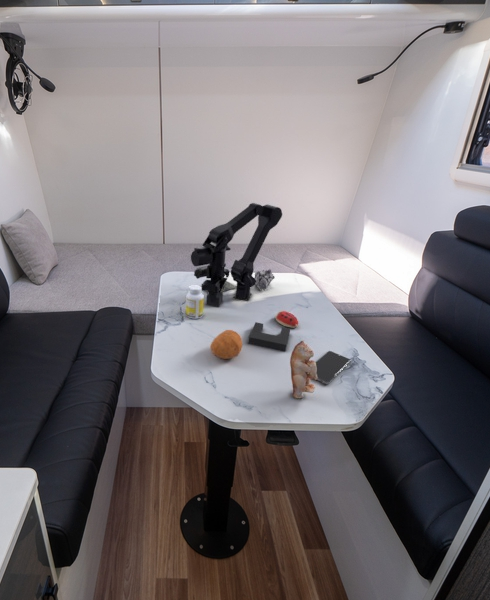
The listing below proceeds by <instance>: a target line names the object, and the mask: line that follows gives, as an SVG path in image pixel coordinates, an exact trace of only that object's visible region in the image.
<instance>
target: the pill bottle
mask: <svg viewBox="0 0 490 600" xmlns="http://www.w3.org/2000/svg"><path fill="white" fill-rule="evenodd" d="M201 286H202V285H199V284H191V285H189V286H188V292H187V293H186V295H185V315H186V317H187V318H189V319H194V320H195V319H196V320H197V319H200V318H202V317H203V316H204V302H205V301H204V300H205V295H204V293H203V292H202V291H203V290H202V287H201Z"/></svg>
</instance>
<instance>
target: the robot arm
mask: <svg viewBox="0 0 490 600" xmlns="http://www.w3.org/2000/svg"><path fill="white" fill-rule="evenodd" d="M256 217H257V223H258V224H257V226H256V229H255V231H254V233H253V234H252V237H251V239H250V241H249V243H248V245H247V247H246V249H245V251H244V253H243V255H242V257H241V258H240V259H235V260H234V261H233V264H232V266H231V267H230V270H229V268H226V265H227V263H226V251H231V247H229V246H228V244H229V243H230V242H231V241H232V240H233V239H234V236H235V234H236V233H237V232H239V231H240V230H241V229H243V228H244V227H245V226H246V225H247V224H249V223H250V222H251V221H253V220H254V219H255V218H256ZM282 217H283V212H282V208H281V207H278V206H275V205H271V204H265V205H262V204H259V203H256V202H251V203H249V204H248V206H247V207H246V208H244V209H243V210H242V211H240V212H239V213H238V214H237V215H235V216H234V217H233V218H231V219H230V220H229V221H228V222H226V223H223V224H219V225H217V226H215V227H213V228H212V229H211V230H209V232H208V235H207V237H206V238H205V240H204V242H203V243H202V246H201V247H198V246H197V247H194V248H193V249H194V250H193V251H192V252H191V254H190V261H191V264H192V265H193V267H197V268H196V269H195V270H194V271H193V273H194V274H193V276H194V277H195V278H196V279H197V280H198V279H200V278H201V279H202V278H206V279H205V280H204V281H203V282H202V283H201V285H200V286H201V287H202V291H206V292H207V293H208V294H209V297H210V300H211V302H214V301H215V299H216V296H217V294H218V292H220V293H222V292H221V290H222V288H223V286H224V284H225V282H226V281H227V280H228V278H229V277H230V275H231V277H232V281H234V282H236V286H237V287H236V288H235V293H234V294H233V296H232V297H233V299H236V300H243V301H250V299H251V297H252V295H253V294H252V293H251V288H253V287H255V286H256V285H255V283H256V280H255V279H254V278H255V277H254V276H253V274H254V262H255V261H256V259H257V257H258V255H259V253H260V251H261V248H262V247H263V244H264V243H265V241H266V239H267V236H268V235H269V233H270V231H272V229H274V228H275V227H276V226H277V225H278V224H279V222H280V220H281V219H282Z"/></svg>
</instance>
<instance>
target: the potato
mask: <svg viewBox="0 0 490 600" xmlns="http://www.w3.org/2000/svg"><path fill="white" fill-rule="evenodd" d="M242 348H243V340H242V336H241V334H239V333H238V332H237V331H235V330H233V329H225V330H224V331H222V332H221V333H219V334H218V335H217V336H216V337H215V338H214V339H213V340H212V341H211V344H210V351H211V354H213V356H215V357H217V358H218V359H219V358H220V359H224V360H229V359H233V358H235V357H238V356H239V354H240V353H241V352H242Z"/></svg>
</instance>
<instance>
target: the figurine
mask: <svg viewBox="0 0 490 600" xmlns="http://www.w3.org/2000/svg"><path fill="white" fill-rule="evenodd" d="M314 354H315V351H313V350H311V348H310V346H309V345H308V344H306V343H305V341H304V340H301V341H299V342H298V343H297V344H295V345H294V347H293V350H292V352H291V355H290V358H289V359H290V360H289V365H290V378H291V379H290V380H291V384H292V396H293V398H295V399H302V398H304V393H310V394H313V393H314V392H315V389H316V385H315V384H313V383H312V382H311V380H315V381H317V380H316V379H317V374H316V372H317V367H316V363H315V362H316V361H314V360H311V358H313V357H314V356H315V355H314Z"/></svg>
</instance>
